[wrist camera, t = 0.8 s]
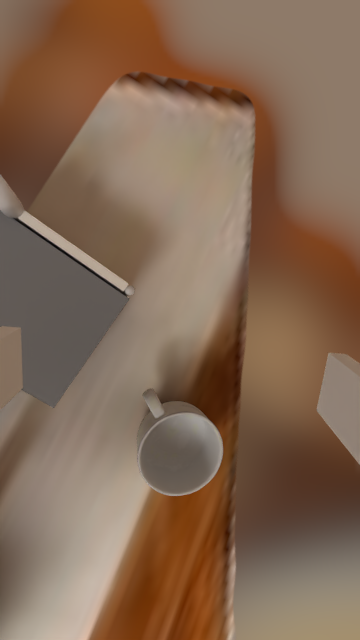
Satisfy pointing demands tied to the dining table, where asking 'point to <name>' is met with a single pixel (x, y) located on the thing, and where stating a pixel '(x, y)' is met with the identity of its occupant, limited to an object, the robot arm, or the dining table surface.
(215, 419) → the dining table surface
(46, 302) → the box housing
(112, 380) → the dining table surface
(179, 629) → the dining table surface
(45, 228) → the door
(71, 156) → the dining table surface
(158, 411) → the teacup
